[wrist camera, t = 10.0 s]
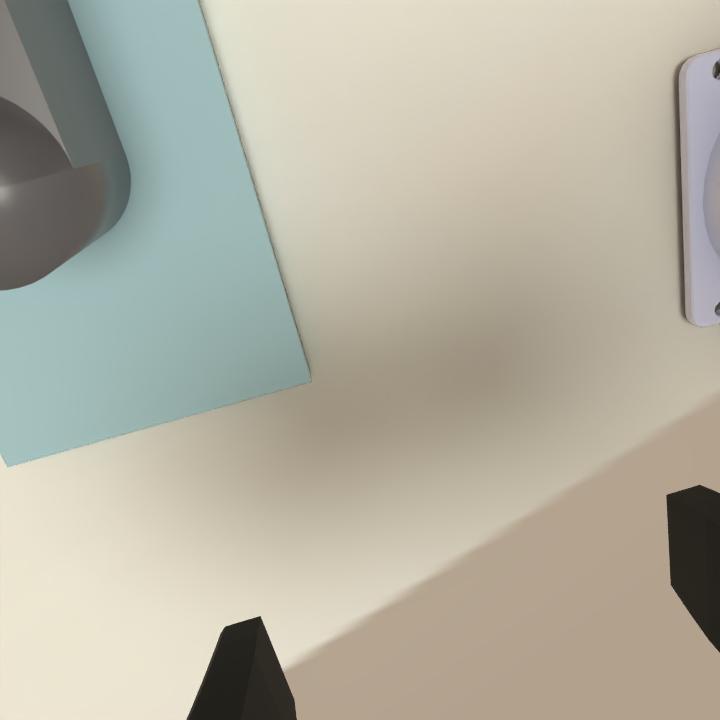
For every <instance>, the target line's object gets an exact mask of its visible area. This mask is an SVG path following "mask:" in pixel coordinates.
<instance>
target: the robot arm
mask: <svg viewBox="0 0 720 720" xmlns="http://www.w3.org/2000/svg"><path fill="white" fill-rule="evenodd" d="M716 61H718V62H719V64H720V49H717V50H713V51H709V52H705V53H702V54H698V55H695V56H693V57H691V58H689V59H688V60H687V61H686V62H685V63H684V64H683V66H682V68H681V70H680V73H679V108H680V141H681V175H682V209H683V242H684V276H685V309H686V317H687V320H688V321H689V322H690V323H692V324H694V325H696V326H698V327H708V326H712V325H715V324H719V323H720V309H719V310H718V311H717V312H715V307H716V305H717V304H718V303H719V302H720V73H719V75H718V76H717V78H716V79H715V78H714V77H713V74H712V70H713V66H714V64H715V63H716ZM667 516H668V535H669V555H670V577H671V586H672V587H673V589H674V590H675V592H676V593H677V595H678V596H679V598H680V599H681V601H682V602H683V604H684V605H685V607H686V608H687V610H688V611H689V613H690V614H691V615H692V617H693V618H694V620H695V621H696V623H697V624H698V625H699V627H700V628H701V630H702V631H703V632H704V634H705V635H706V637H707V638H708V639H709V641H710V642H711V643H712V644H713V645H714V646H715V648H716V649H717V650H718V651H719V652H720V493H718V492H716V491H713V490H711V489H708V488H706V487H704V486H701V485H698V486H695V487H692V488H688V489H685V490H681V491H678V492H675V493H671V494H668V495H667ZM187 720H297V718H296V710H295V702H294V698H293V696H292V693H291V691H290V688H289V686H288V683H287V681H286V678H285V676H284V673H283V671H282V668H281V666H280V663H279V661H278V658H277V656H276V653H275V651H274V649H273V646H272V644H271V641H270V639H269V636H268V634H267V631H266V629H265V626H264V624H263V621H262V619H261V616H259V617H256V618H253V619H249V620H246V621H243V622H239V623H236V624H233V625H229V626H226V627H225V628H224V629H223V631H222V632H221V634H220V637H219V639H218V642H217V645H216V648H215V650H214V653H213V655H212V658H211V661H210V663H209V666H208V668H207V671H206V674H205V676H204V679H203V681H202V684H201V686H200V689H199V691H198V694H197V696H196V698H195V701H194V703H193V706H192V708H191V711H190V713H189V715H188V717H187Z"/></svg>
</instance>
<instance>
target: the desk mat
mask: <svg viewBox="0 0 720 720" xmlns="http://www.w3.org/2000/svg"><path fill="white" fill-rule="evenodd" d="M68 3H69V5H70V8H71V11H72V13H73V16H74V19H75V21H76V24H77V26H78V29H79V32H80V34H81V37H82V40H83V42H84V45H85V48H86V50H87V53H88V56H89V58H90V61H91V64H92V66H93V69H94V72H95V74H96V77H97V80H98V82H99V85H100V88H101V90H102V93H103V96H104V98H105V101H106V104H107V106H108V109H109V112H110V114H111V117H112V120H113V122H114V125H115V128H116V130H117V133H118V136H119V138H120V141H121V143H122V146H123V149H124V151H125V154H126V157H127V160H128V164H129V168H130V174H131V190H130V196H129V201H128V204H127V206H126V209H125V211H124V213H123V215H122V216H121V218H120V219H119V221H118V222H117V223H116V225H115V226H114V227H113V228H111V229H110V230H109V231H108V232H107V233H105V234H104V235H103V236H101V237H100V238H98V239H97V240H96V241H94V242H93V243H91V244H90V245H89V246H87V247H86V248H85V249H83V250H82V251H80V252H79V253H78V254H76V255H75V256H73V257H72V258H71V259H69V260H68V261H66V262H65V263H64V264H62V265H61V266H60V267H58V268H57V269H55V270H54V271H53V272H51V273H50V274H48V275H47V276H45V277H44V278H42V279H40V280H38V281H36V282H34V283H33V284H30V285H27V286H24V287H21V288H16V289H11V290H3V291H0V454H1V456H2V458H3V460H4V462H5V463H6V465H7V467H10V466H14V465H17V464H21V463H25V462H28V461H32V460H35V459H39V458H42V457H46V456H49V455H53V454H57V453H60V452H64V451H67V450H71V449H74V448H78V447H81V446H85V445H88V444H92V443H96V442H99V441H103V440H106V439H110V438H113V437H117V436H120V435H124V434H128V433H131V432H135V431H138V430H142V429H145V428H149V427H152V426H156V425H159V424H163V423H167V422H170V421H174V420H177V419H181V418H184V417H188V416H191V415H195V414H199V413H202V412H206V411H209V410H213V409H216V408H220V407H223V406H227V405H230V404H234V403H238V402H241V401H245V400H248V399H252V398H255V397H259V396H262V395H266V394H270V393H273V392H277V391H280V390H284V389H287V388H291V387H294V386H298V385H301V384H305V383H309V382H312V381H311V376H310V371H309V367H308V364H307V361H306V357H305V354H304V351H303V347H302V344H301V341H300V337H299V334H298V331H297V327H296V324H295V321H294V317H293V314H292V310H291V307H290V304H289V300H288V297H287V294H286V290H285V287H284V284H283V280H282V277H281V274H280V270H279V267H278V264H277V260H276V257H275V254H274V250H273V247H272V243H271V240H270V237H269V233H268V230H267V227H266V223H265V220H264V217H263V213H262V210H261V207H260V203H259V200H258V197H257V193H256V190H255V187H254V183H253V180H252V177H251V173H250V170H249V166H248V163H247V160H246V156H245V153H244V150H243V146H242V143H241V140H240V136H239V133H238V130H237V126H236V123H235V120H234V116H233V113H232V110H231V106H230V103H229V99H228V96H227V93H226V89H225V86H224V83H223V79H222V76H221V73H220V69H219V66H218V63H217V59H216V56H215V53H214V49H213V46H212V43H211V39H210V36H209V32H208V29H207V26H206V22H205V19H204V16H203V12H202V9H201V6H200V2H199V0H68Z"/></svg>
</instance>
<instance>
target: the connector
mask: <svg viewBox="0 0 720 720" xmlns="http://www.w3.org/2000/svg"><path fill="white" fill-rule="evenodd" d="M130 190H131V174H130V168H129V164H128V160H127V157H126V154H125V151H124V149H123V146H122V143H121V141H120V138H119V136H118V133H117V130H116V128H115V125H114V122H113V120H112V117H111V114H110V112H109V109H108V106H107V104H106V101H105V98H104V96H103V93H102V90H101V88H100V85H99V82H98V80H97V77H96V74H95V72H94V69H93V66H92V64H91V61H90V58H89V56H88V53H87V50H86V48H85V45H84V42H83V40H82V37H81V34H80V32H79V29H78V26H77V24H76V21H75V19H74V16H73V13H72V11H71V8H70V5H69V3H68V0H0V291H3V290H11V289H16V288H21V287H24V286H27V285H30V284H33V283H34V282H36V281H38V280H40V279H42V278H44V277H45V276H47V275H48V274H50V273H51V272H53V271H54V270H55V269H57V268H58V267H60V266H61V265H62V264H64V263H65V262H66V261H68V260H69V259H71V258H72V257H73V256H75V255H76V254H78V253H79V252H80V251H82V250H83V249H85V248H86V247H87V246H89V245H90V244H91V243H93V242H94V241H96V240H97V239H98V238H100V237H101V236H103V235H104V234H105V233H107V232H108V231H109V230H110V229H111V228H113V227H114V226H115V225H116V223H117V222H118V221H119V219H120V218H121V216H122V215H123V213H124V211H125V209H126V206H127V204H128V201H129V196H130Z"/></svg>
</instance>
